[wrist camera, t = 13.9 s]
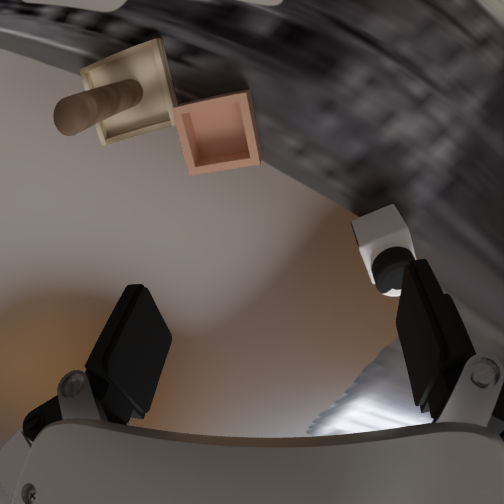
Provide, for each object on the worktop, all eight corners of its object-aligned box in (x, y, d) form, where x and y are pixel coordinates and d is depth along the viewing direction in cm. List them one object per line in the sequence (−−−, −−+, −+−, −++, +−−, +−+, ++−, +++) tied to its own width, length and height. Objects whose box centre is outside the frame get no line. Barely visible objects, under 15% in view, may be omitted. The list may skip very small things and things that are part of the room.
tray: (87, 68, 34) (79, 69, 33) (162, 38, 32) (156, 38, 30) (108, 142, 41) (101, 146, 39) (182, 121, 39) (177, 125, 37)
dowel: (113, 84, 35) (49, 105, 24) (138, 75, 34) (78, 91, 23) (120, 110, 37) (60, 140, 26) (146, 102, 36) (89, 129, 25)
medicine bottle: (349, 219, 45) (365, 271, 35) (393, 202, 42) (420, 249, 32) (364, 256, 48) (379, 310, 38) (404, 239, 45) (429, 291, 36)
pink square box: (181, 103, 37) (171, 108, 34) (249, 89, 35) (245, 92, 32) (197, 165, 42) (189, 175, 39) (262, 154, 40) (260, 164, 37)
